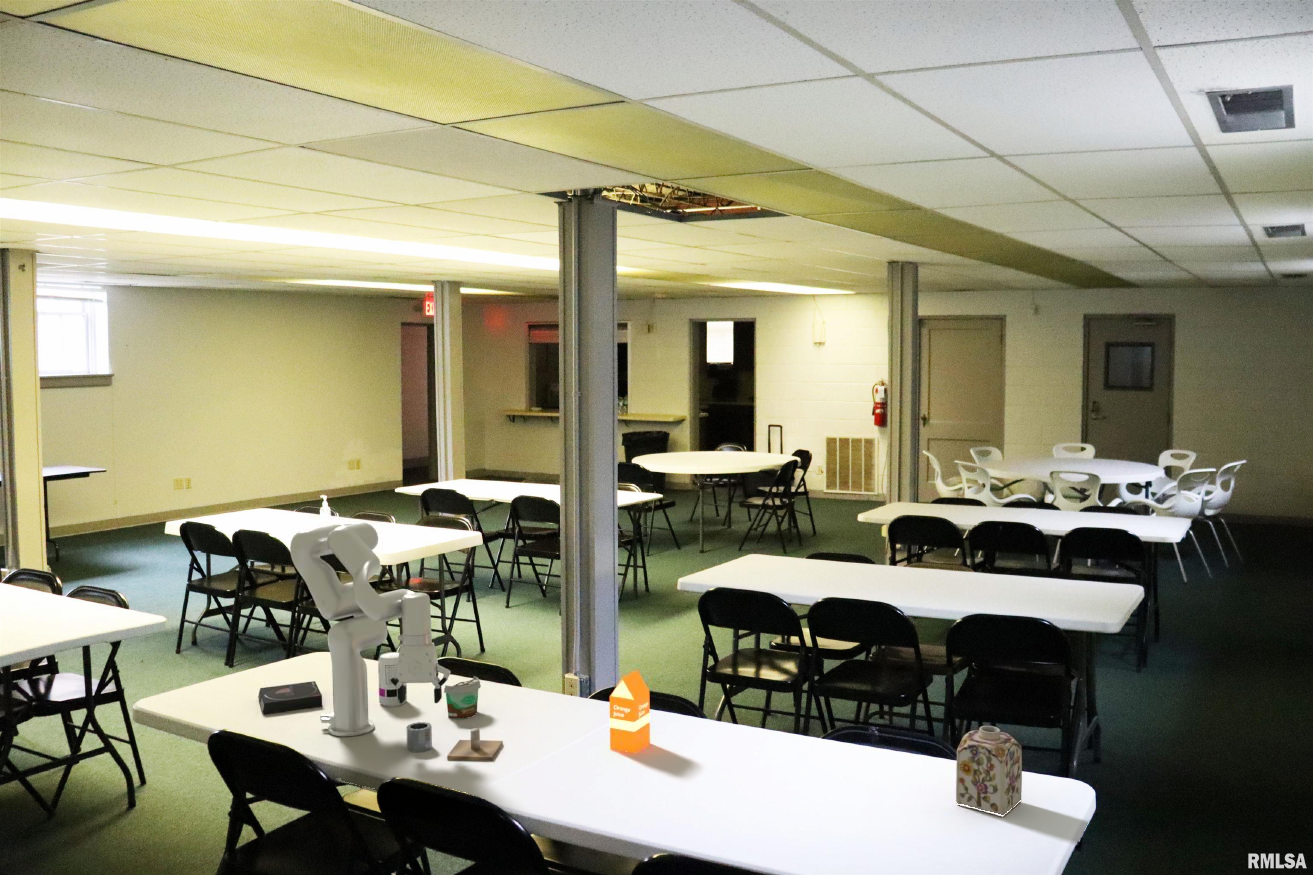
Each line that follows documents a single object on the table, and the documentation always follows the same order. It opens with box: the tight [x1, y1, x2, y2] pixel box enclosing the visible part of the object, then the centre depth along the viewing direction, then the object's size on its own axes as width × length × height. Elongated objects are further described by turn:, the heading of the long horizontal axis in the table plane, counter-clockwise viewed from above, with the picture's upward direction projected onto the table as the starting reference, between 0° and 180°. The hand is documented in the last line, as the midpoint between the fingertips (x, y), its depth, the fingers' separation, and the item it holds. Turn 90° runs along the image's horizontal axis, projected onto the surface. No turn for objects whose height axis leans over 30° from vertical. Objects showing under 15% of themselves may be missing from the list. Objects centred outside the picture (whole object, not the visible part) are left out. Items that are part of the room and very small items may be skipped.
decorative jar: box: [955, 725, 1023, 815], centre depth 248 cm, size 12×12×18 cm
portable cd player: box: [257, 680, 323, 716], centre depth 327 cm, size 16×17×4 cm
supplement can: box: [377, 651, 408, 708], centre depth 326 cm, size 8×8×15 cm
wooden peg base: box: [446, 728, 504, 762], centre depth 284 cm, size 12×12×6 cm
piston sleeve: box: [406, 721, 433, 753], centre depth 288 cm, size 6×6×6 cm
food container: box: [443, 675, 482, 720], centre depth 314 cm, size 12×6×10 cm, turn 143°
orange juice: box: [609, 669, 651, 754], centre depth 287 cm, size 8×9×20 cm
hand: (420, 701), depth 287 cm, fingers open, 9 cm apart
